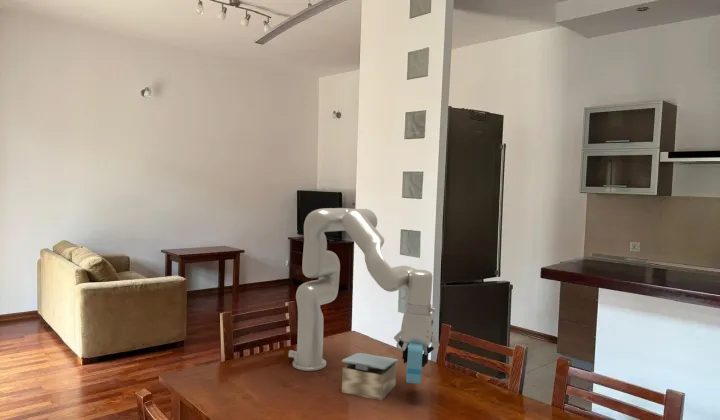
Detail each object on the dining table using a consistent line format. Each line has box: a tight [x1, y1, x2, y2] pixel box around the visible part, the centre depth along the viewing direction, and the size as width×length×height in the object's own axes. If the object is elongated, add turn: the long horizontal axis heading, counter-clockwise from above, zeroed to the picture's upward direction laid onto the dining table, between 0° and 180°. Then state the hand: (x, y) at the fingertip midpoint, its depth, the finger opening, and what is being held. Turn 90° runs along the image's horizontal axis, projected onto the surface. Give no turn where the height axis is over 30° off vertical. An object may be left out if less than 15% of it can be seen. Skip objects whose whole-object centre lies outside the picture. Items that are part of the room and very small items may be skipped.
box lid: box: [341, 352, 399, 370], centre depth 170 cm, size 15×15×2 cm
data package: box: [405, 342, 424, 385], centre depth 164 cm, size 12×4×12 cm, turn 171°
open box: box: [341, 361, 398, 401], centre depth 170 cm, size 14×14×8 cm
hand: (414, 363), depth 164 cm, fingers closed on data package, 5 cm apart
